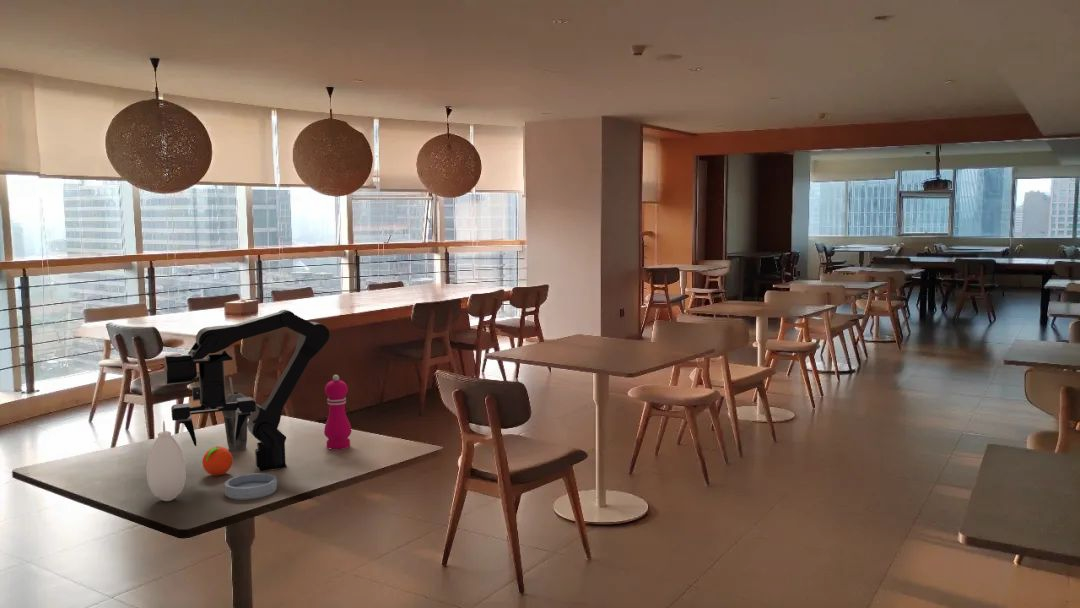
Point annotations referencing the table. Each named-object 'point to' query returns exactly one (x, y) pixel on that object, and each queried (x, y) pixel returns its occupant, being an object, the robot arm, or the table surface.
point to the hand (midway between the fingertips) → (216, 443)
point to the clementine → (217, 461)
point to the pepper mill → (337, 415)
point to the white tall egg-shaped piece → (166, 467)
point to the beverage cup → (230, 424)
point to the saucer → (251, 486)
